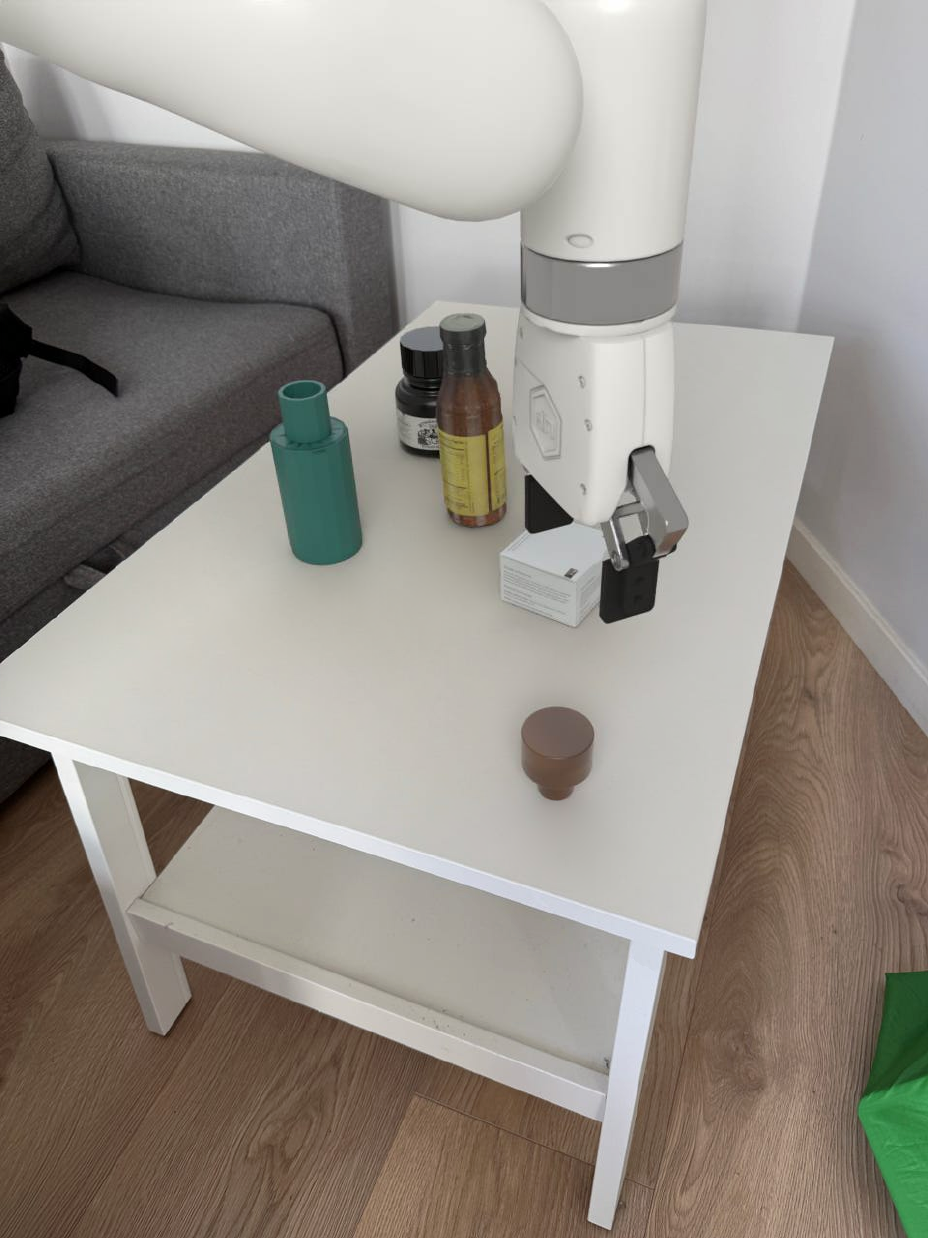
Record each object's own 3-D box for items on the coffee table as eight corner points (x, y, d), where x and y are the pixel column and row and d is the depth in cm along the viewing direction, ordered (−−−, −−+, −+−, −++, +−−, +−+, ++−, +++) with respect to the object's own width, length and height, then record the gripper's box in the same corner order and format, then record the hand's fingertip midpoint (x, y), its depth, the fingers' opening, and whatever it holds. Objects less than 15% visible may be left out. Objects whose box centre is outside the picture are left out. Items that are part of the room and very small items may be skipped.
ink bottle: (388, 458, 101) (377, 354, 93) (403, 421, 108) (394, 321, 100) (476, 461, 100) (472, 356, 92) (485, 423, 106) (482, 322, 99)
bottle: (300, 572, 85) (270, 414, 75) (284, 535, 90) (254, 382, 80) (370, 554, 87) (350, 397, 77) (351, 519, 92) (329, 367, 82)
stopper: (539, 823, 61) (540, 767, 58) (510, 773, 65) (509, 718, 61) (602, 800, 63) (607, 745, 59) (571, 753, 66) (573, 698, 63)
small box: (543, 556, 85) (544, 509, 82) (619, 583, 82) (623, 535, 78) (497, 600, 80) (496, 552, 77) (575, 631, 77) (578, 582, 73)
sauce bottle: (489, 491, 95) (484, 300, 82) (518, 519, 90) (517, 322, 78) (432, 508, 93) (417, 314, 80) (459, 538, 88) (448, 338, 76)
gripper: (459, 240, 49) (472, 512, 60) (619, 358, 36) (598, 676, 47) (585, 219, 51) (575, 486, 62) (777, 324, 38) (723, 636, 49)
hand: (585, 568), depth 54 cm, fingers open, 9 cm apart
